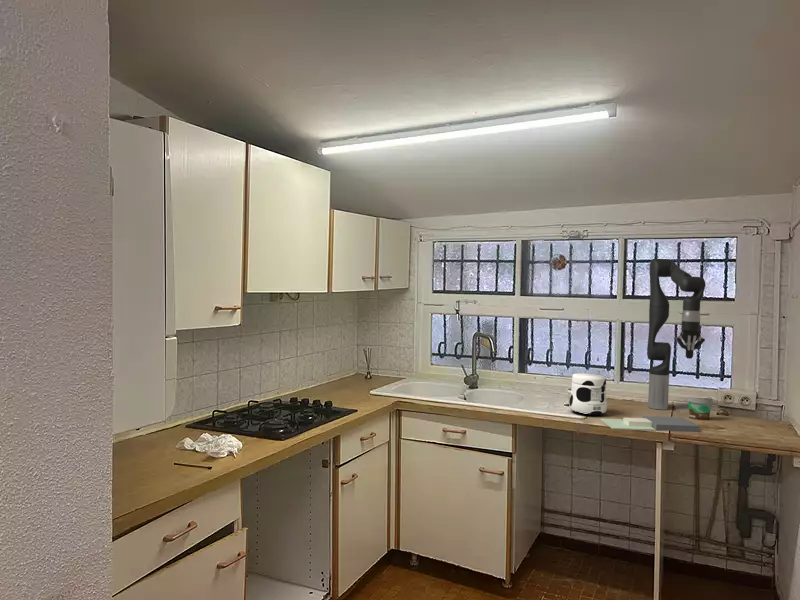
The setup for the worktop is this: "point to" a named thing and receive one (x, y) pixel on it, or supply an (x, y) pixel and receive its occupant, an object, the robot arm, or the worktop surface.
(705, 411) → the food container
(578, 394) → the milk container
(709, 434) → the worktop surface
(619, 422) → the mat
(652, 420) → the platform
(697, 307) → the robot arm
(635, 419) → the cream flat block
